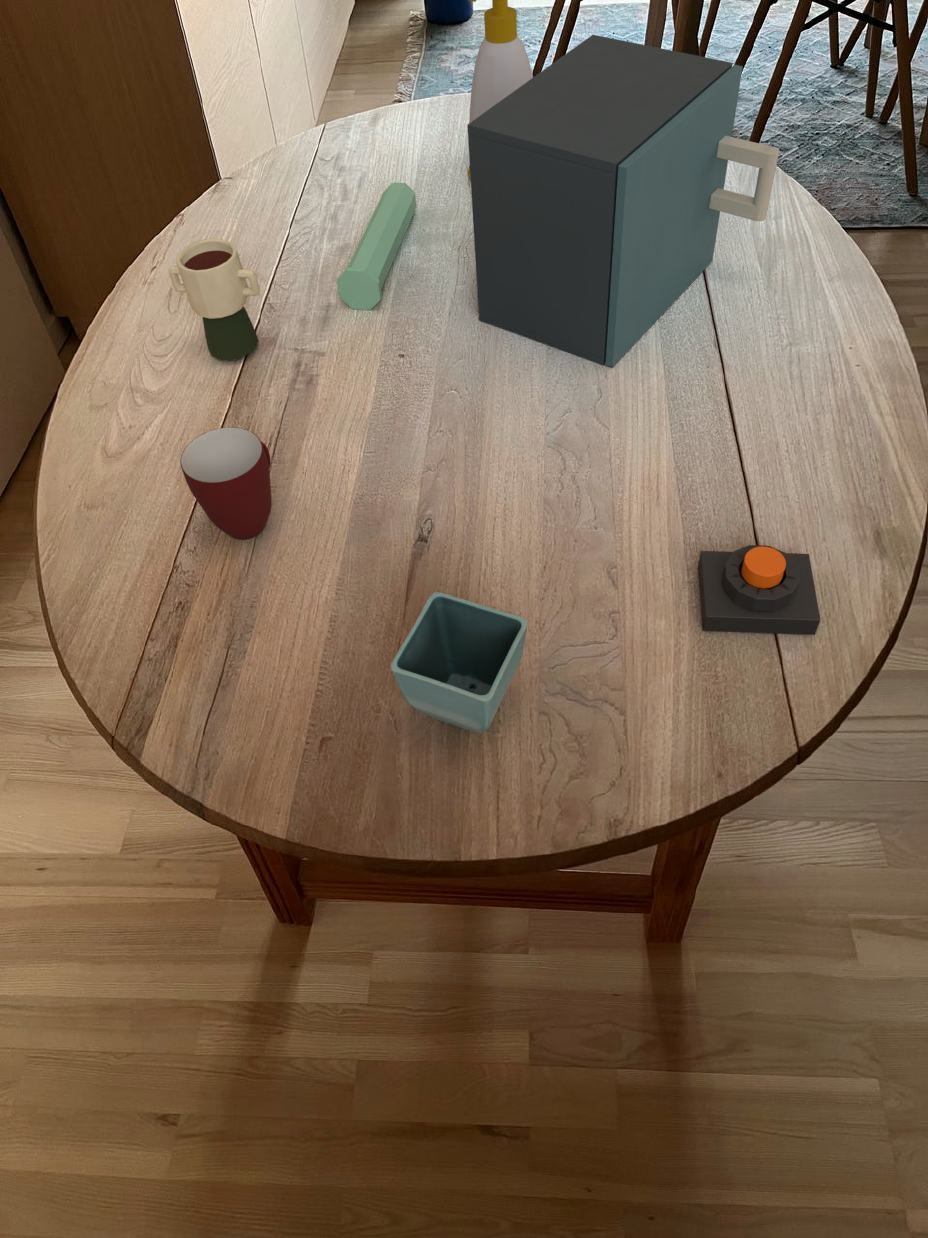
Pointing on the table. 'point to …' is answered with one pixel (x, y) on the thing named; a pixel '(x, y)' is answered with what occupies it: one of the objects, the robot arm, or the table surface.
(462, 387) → the table surface
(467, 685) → the flower pot
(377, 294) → the green octagonal rod
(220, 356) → the character mug
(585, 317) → the cupboard
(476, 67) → the soap bottle
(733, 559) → the button block
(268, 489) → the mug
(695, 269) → the door
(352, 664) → the table surface
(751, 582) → the button
